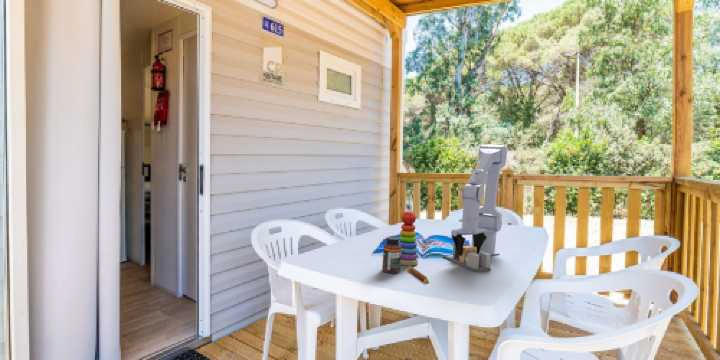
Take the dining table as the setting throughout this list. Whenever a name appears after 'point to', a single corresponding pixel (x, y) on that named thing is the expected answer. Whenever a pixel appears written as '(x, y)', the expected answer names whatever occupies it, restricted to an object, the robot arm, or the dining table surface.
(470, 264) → the rail
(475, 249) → the block
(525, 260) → the dining table surface
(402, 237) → the stacking toy
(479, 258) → the shaft
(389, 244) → the supplement bottle
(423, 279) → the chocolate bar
